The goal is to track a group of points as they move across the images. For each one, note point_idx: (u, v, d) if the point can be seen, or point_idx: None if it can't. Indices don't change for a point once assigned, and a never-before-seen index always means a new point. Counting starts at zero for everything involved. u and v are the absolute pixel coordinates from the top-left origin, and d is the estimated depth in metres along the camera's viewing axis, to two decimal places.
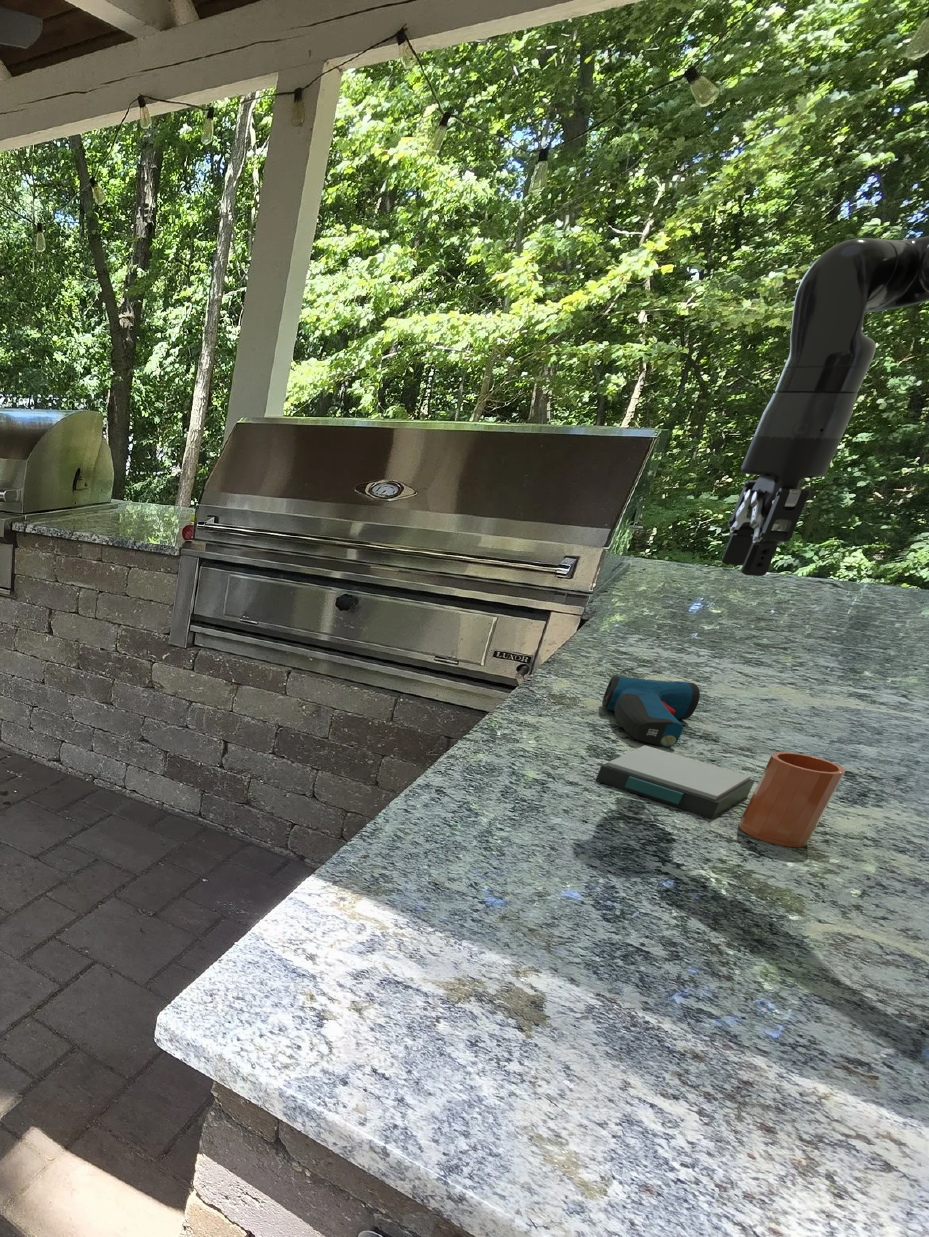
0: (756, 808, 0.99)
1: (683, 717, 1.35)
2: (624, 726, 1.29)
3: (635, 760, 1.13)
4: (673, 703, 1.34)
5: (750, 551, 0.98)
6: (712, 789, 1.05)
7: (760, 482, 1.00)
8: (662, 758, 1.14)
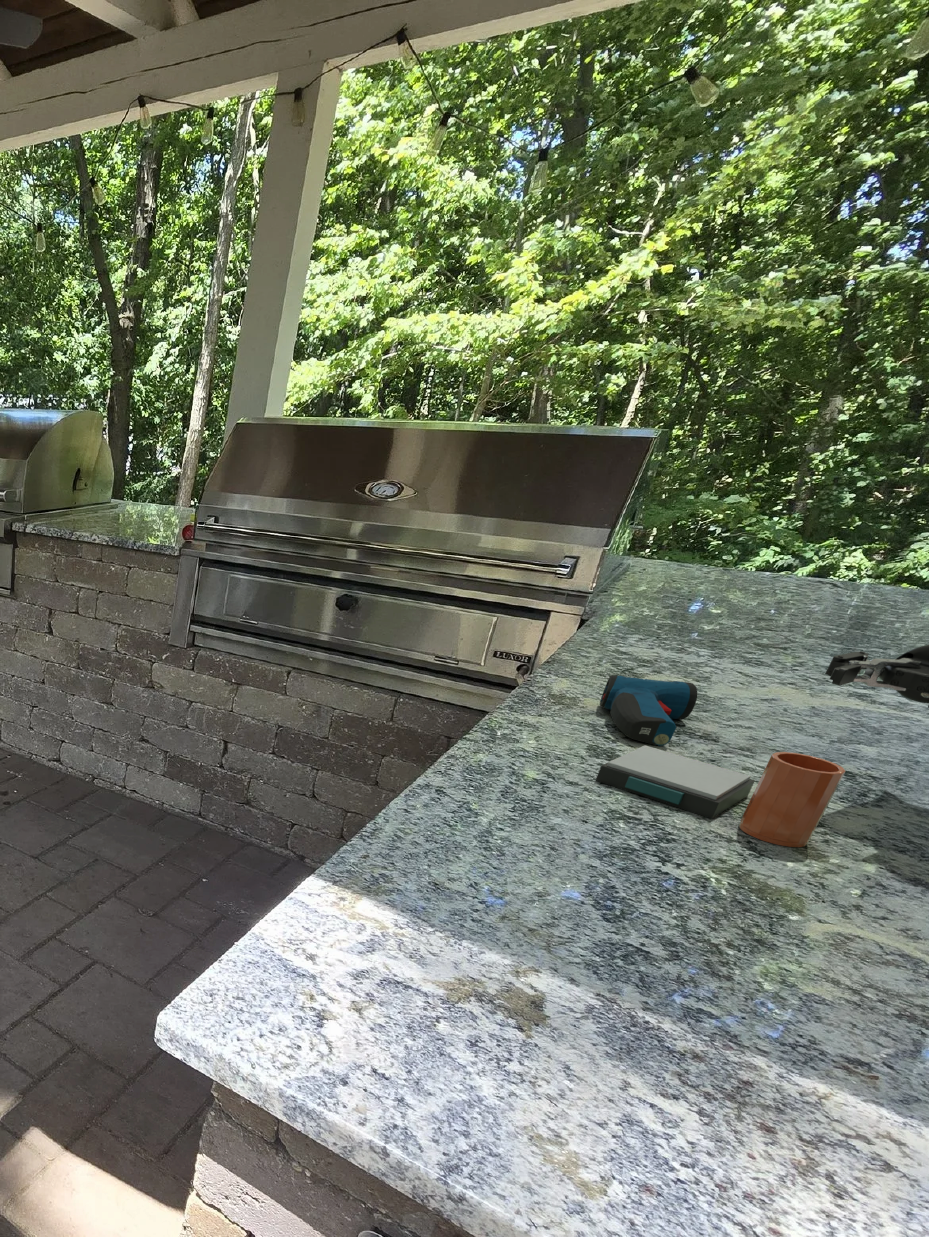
0: (756, 808, 0.99)
1: (681, 717, 1.35)
2: (618, 725, 1.29)
3: (635, 760, 1.13)
4: (670, 703, 1.34)
5: None
6: (712, 789, 1.05)
7: None
8: (662, 758, 1.14)
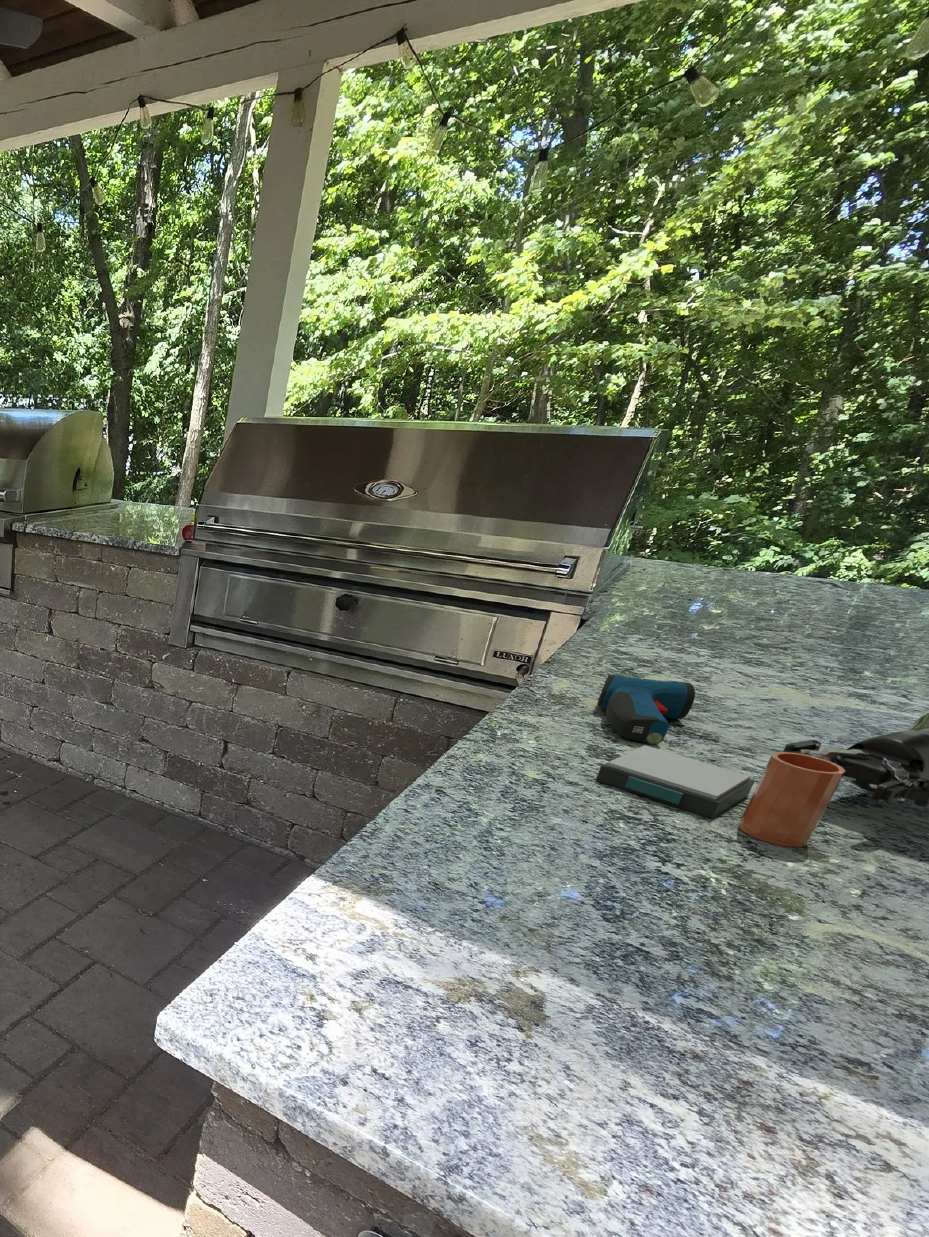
0: (756, 808, 0.99)
1: (678, 717, 1.35)
2: (611, 723, 1.30)
3: (635, 760, 1.13)
4: (667, 702, 1.34)
5: None
6: (712, 789, 1.05)
7: None
8: (662, 758, 1.14)
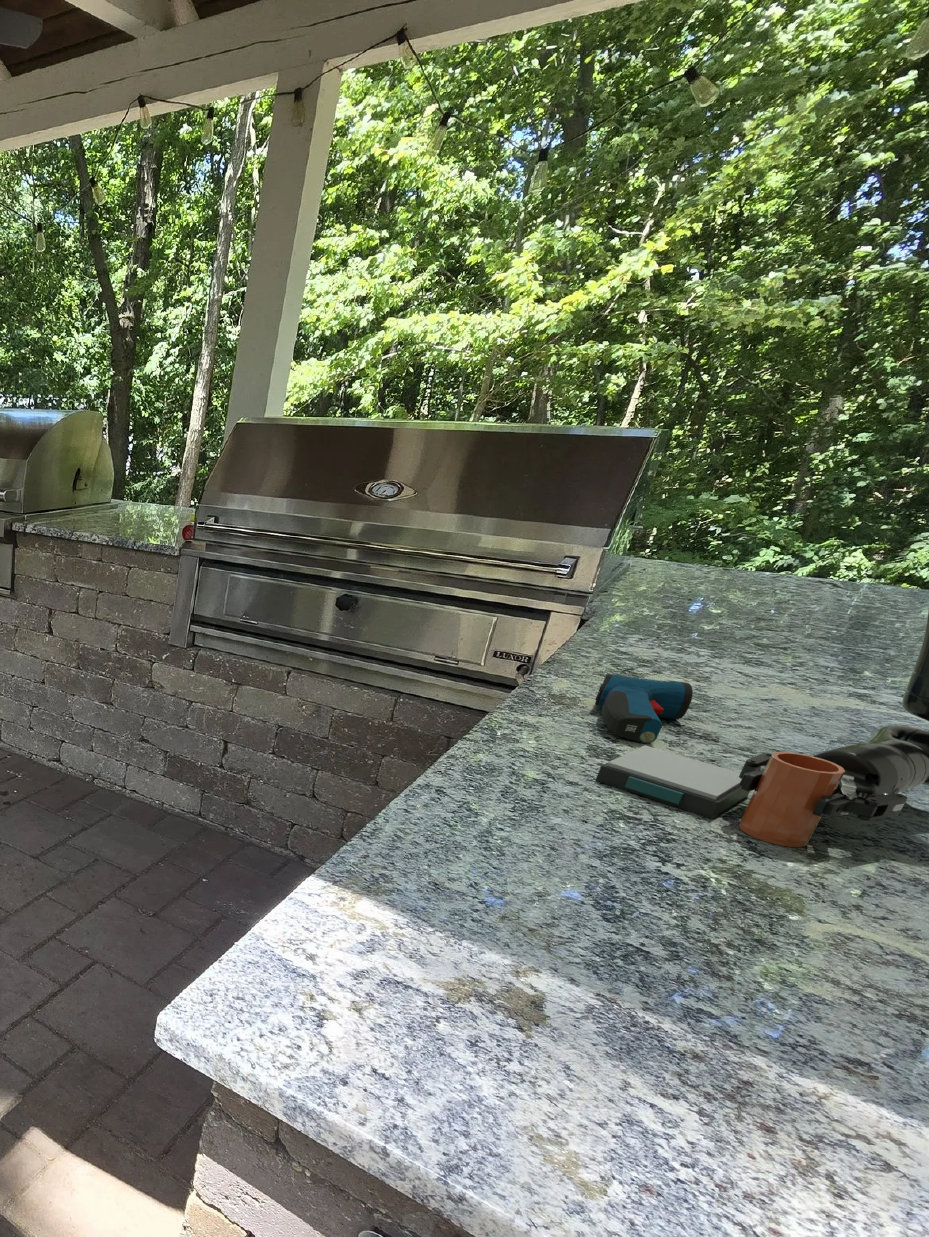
0: (756, 808, 0.99)
1: (676, 717, 1.35)
2: (605, 722, 1.30)
3: (635, 760, 1.13)
4: (664, 702, 1.34)
5: None
6: (712, 789, 1.05)
7: None
8: (662, 758, 1.14)
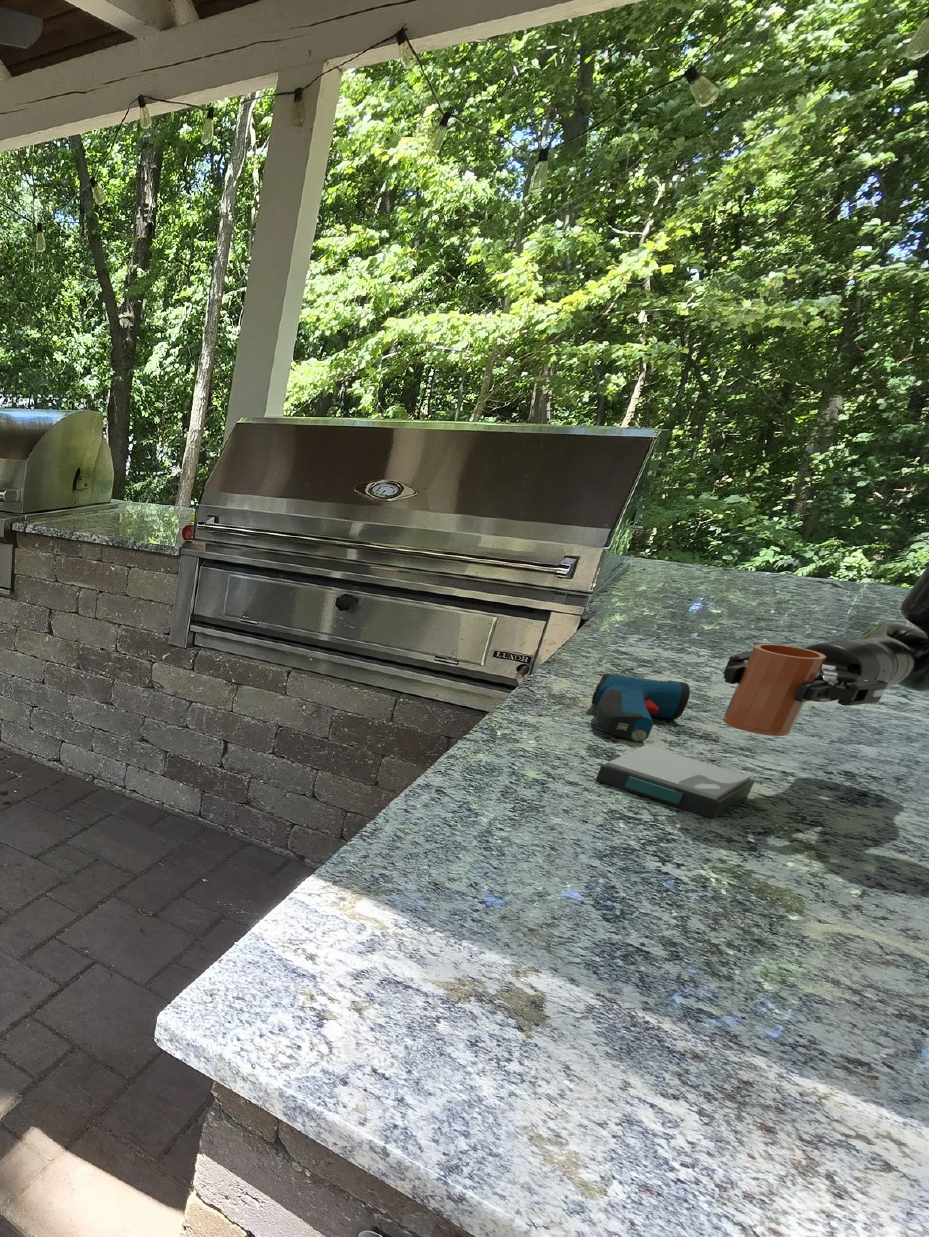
0: (739, 699, 1.00)
1: (673, 716, 1.35)
2: (598, 720, 1.31)
3: (635, 760, 1.13)
4: (660, 702, 1.34)
5: None
6: (712, 789, 1.05)
7: None
8: (662, 758, 1.14)
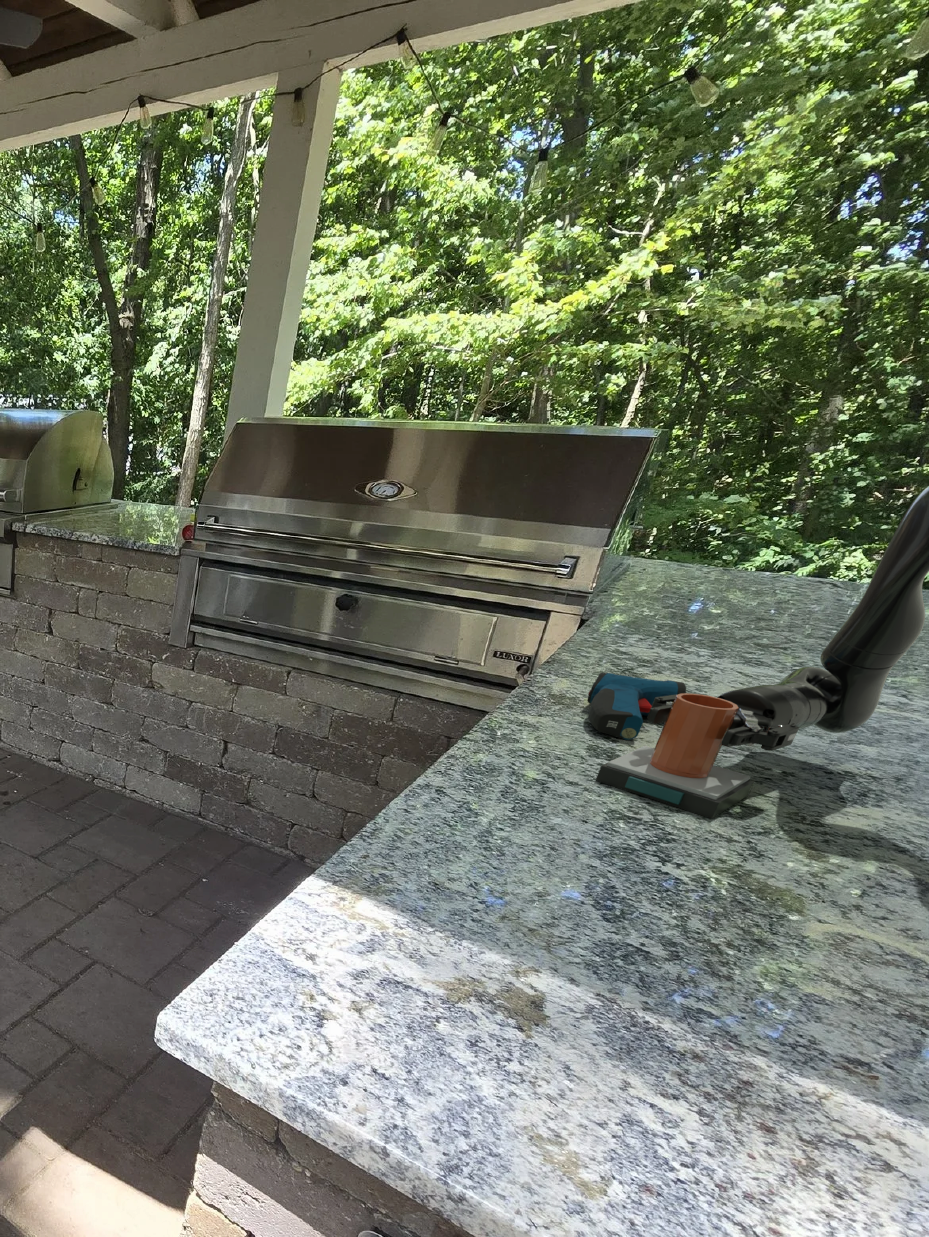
0: (663, 744, 1.10)
1: None
2: (589, 718, 1.32)
3: (635, 760, 1.13)
4: None
5: None
6: (712, 789, 1.05)
7: None
8: None
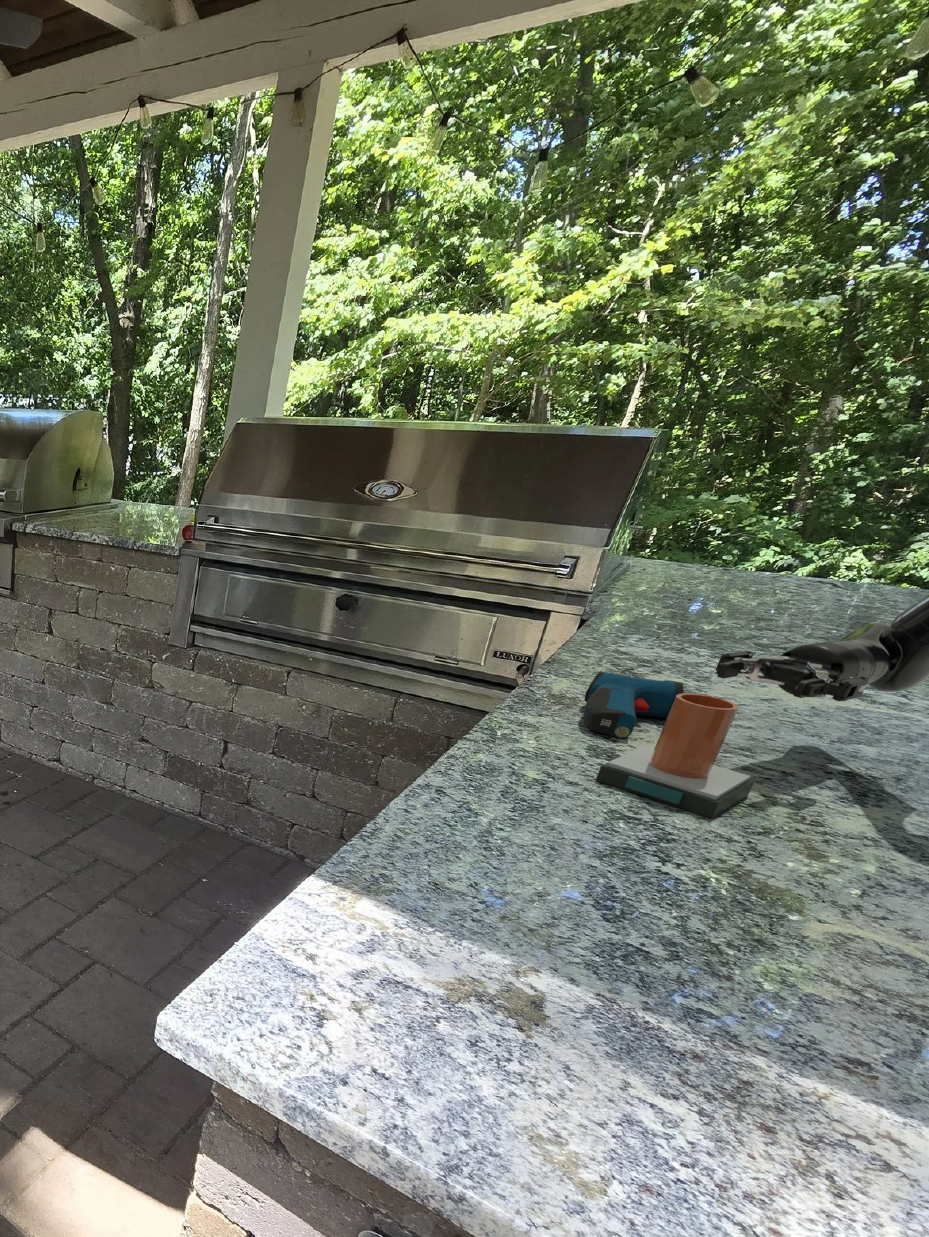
0: (663, 744, 1.10)
1: (666, 716, 1.35)
2: (584, 716, 1.32)
3: (635, 760, 1.13)
4: (653, 700, 1.35)
5: None
6: (712, 789, 1.05)
7: None
8: None
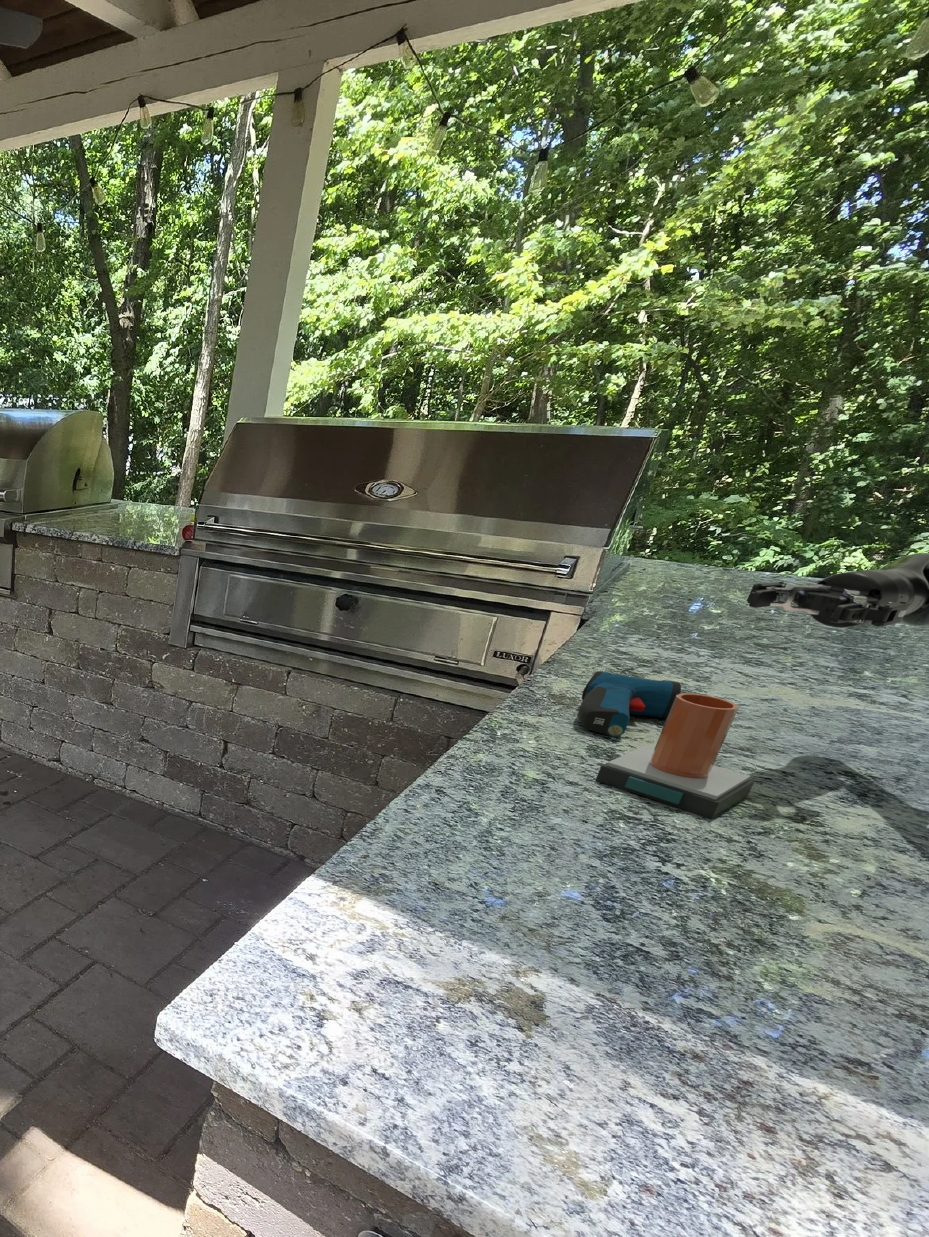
0: (663, 744, 1.10)
1: (664, 716, 1.35)
2: (578, 715, 1.33)
3: (635, 760, 1.13)
4: (650, 700, 1.35)
5: None
6: (712, 789, 1.05)
7: None
8: None
